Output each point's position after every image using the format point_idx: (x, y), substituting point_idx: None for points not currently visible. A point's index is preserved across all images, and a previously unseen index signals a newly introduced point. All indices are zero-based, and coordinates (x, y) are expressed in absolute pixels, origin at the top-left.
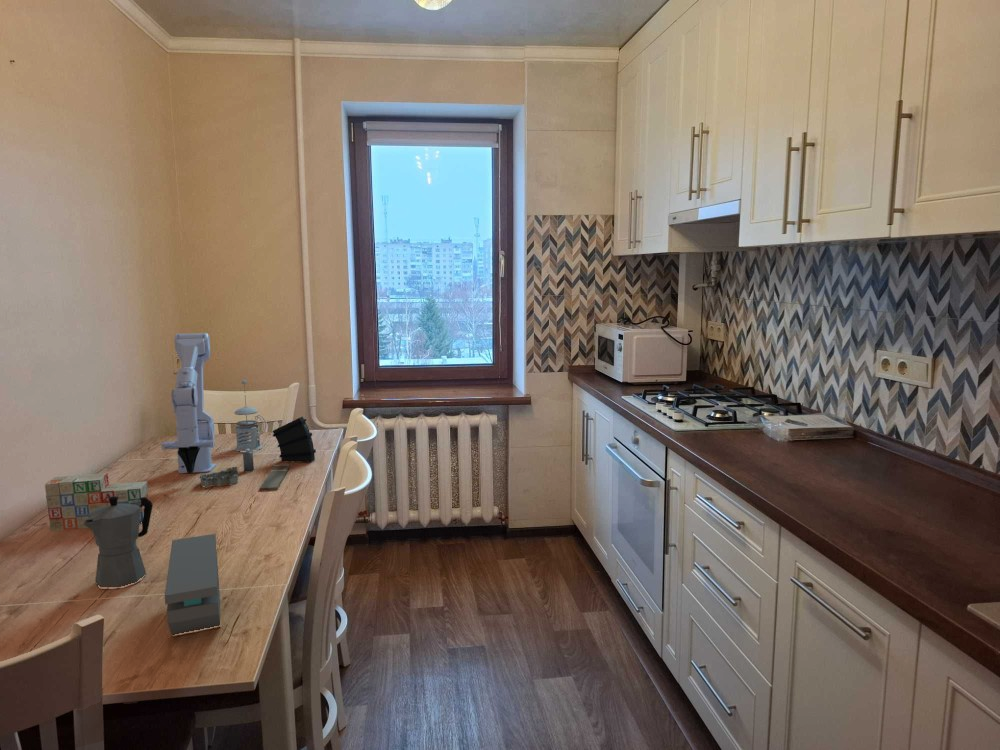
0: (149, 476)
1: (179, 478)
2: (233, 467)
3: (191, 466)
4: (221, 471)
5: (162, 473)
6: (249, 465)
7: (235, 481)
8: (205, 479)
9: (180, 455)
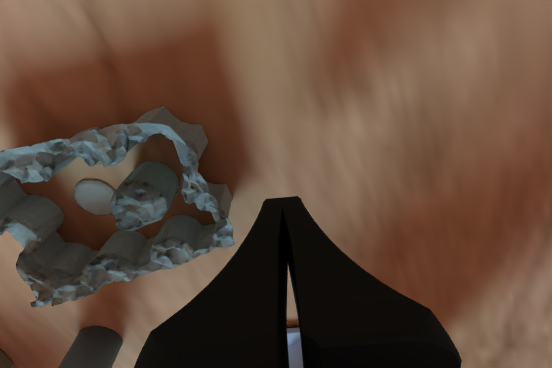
0: (525, 296)
1: (380, 265)
2: (54, 300)
3: (258, 221)
4: (124, 268)
5: (471, 324)
6: (67, 356)
7: (11, 179)
8: (143, 130)
9: (384, 296)
